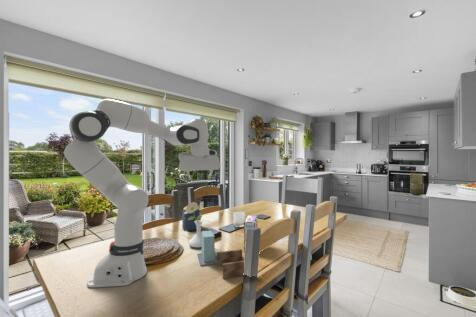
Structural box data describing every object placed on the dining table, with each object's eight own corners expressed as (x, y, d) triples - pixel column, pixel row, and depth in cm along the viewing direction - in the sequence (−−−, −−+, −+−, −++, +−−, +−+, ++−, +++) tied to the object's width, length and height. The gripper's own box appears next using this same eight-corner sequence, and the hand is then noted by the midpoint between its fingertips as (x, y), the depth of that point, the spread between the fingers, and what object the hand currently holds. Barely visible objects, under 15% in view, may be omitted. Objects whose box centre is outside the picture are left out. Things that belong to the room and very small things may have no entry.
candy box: (254, 253, 125) (254, 222, 125) (243, 252, 126) (243, 221, 126) (258, 243, 138) (257, 215, 138) (247, 243, 140) (247, 214, 139)
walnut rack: (223, 279, 100) (223, 264, 100) (217, 265, 112) (216, 252, 112) (250, 274, 103) (250, 260, 103) (241, 261, 116) (241, 249, 115)
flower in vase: (206, 240, 143) (206, 199, 143) (210, 247, 133) (210, 202, 132) (184, 243, 139) (184, 200, 139) (186, 251, 128) (186, 204, 128)
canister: (178, 228, 168) (178, 203, 168) (194, 224, 177) (194, 200, 176) (188, 232, 158) (188, 206, 158) (204, 228, 167) (204, 203, 167)
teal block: (204, 262, 114) (203, 237, 113) (201, 254, 122) (201, 231, 122) (214, 261, 115) (214, 236, 115) (211, 253, 124) (211, 230, 123)
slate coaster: (200, 266, 111) (200, 265, 111) (197, 254, 124) (197, 253, 124) (219, 263, 114) (219, 262, 114) (214, 252, 126) (214, 251, 126)
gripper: (178, 152, 115) (179, 180, 116) (220, 151, 121) (220, 179, 121) (178, 152, 121) (178, 179, 122) (217, 151, 127) (218, 177, 127)
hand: (199, 179), depth 122 cm, fingers open, 8 cm apart
